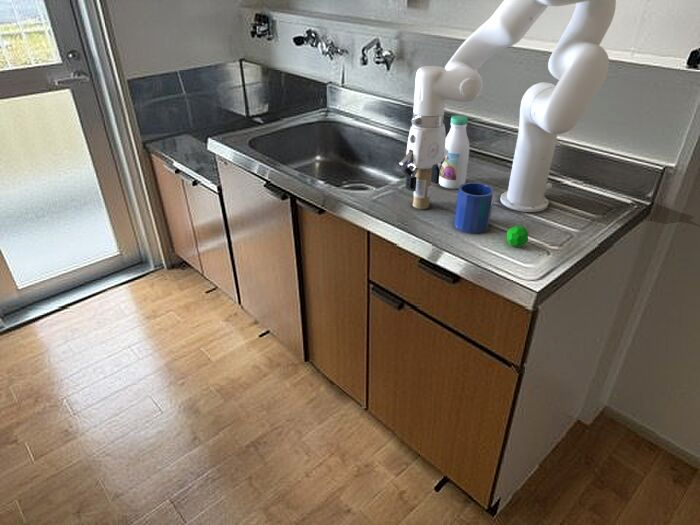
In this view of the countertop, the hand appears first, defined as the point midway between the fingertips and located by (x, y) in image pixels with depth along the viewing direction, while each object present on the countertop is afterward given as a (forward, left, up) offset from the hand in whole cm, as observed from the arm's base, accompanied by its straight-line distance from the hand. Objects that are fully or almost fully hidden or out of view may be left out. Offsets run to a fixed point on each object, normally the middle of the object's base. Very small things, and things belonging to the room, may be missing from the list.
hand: (422, 185), depth 131 cm
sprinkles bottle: (0, 0, -6) cm, 6 cm away
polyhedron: (-3, +29, -6) cm, 30 cm away
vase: (-2, +16, -6) cm, 17 cm away
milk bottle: (-18, -5, -6) cm, 20 cm away
